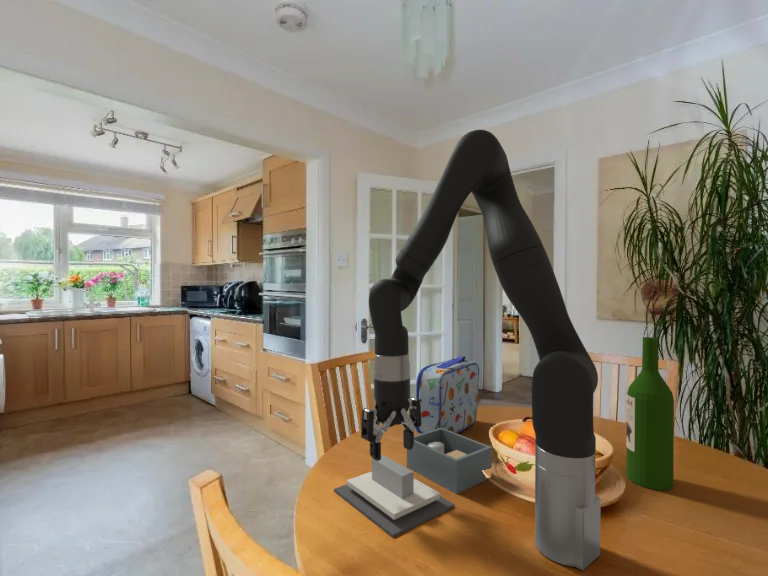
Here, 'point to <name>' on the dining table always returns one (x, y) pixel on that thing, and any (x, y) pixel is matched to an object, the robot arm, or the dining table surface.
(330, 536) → the dining table surface
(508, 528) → the dining table surface
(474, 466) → the storage box
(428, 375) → the lunch box
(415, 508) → the lid
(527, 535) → the dining table surface
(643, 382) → the wine bottle
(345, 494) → the mat
